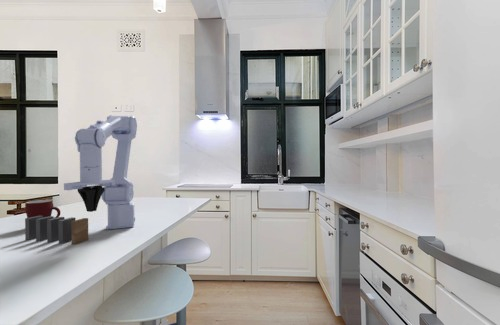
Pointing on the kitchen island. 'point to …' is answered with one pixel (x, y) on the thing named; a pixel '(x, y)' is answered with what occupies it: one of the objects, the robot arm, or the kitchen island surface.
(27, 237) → the domino
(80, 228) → the domino
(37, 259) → the kitchen island surface
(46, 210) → the mug
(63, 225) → the domino
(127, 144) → the robot arm
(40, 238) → the domino
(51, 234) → the domino
